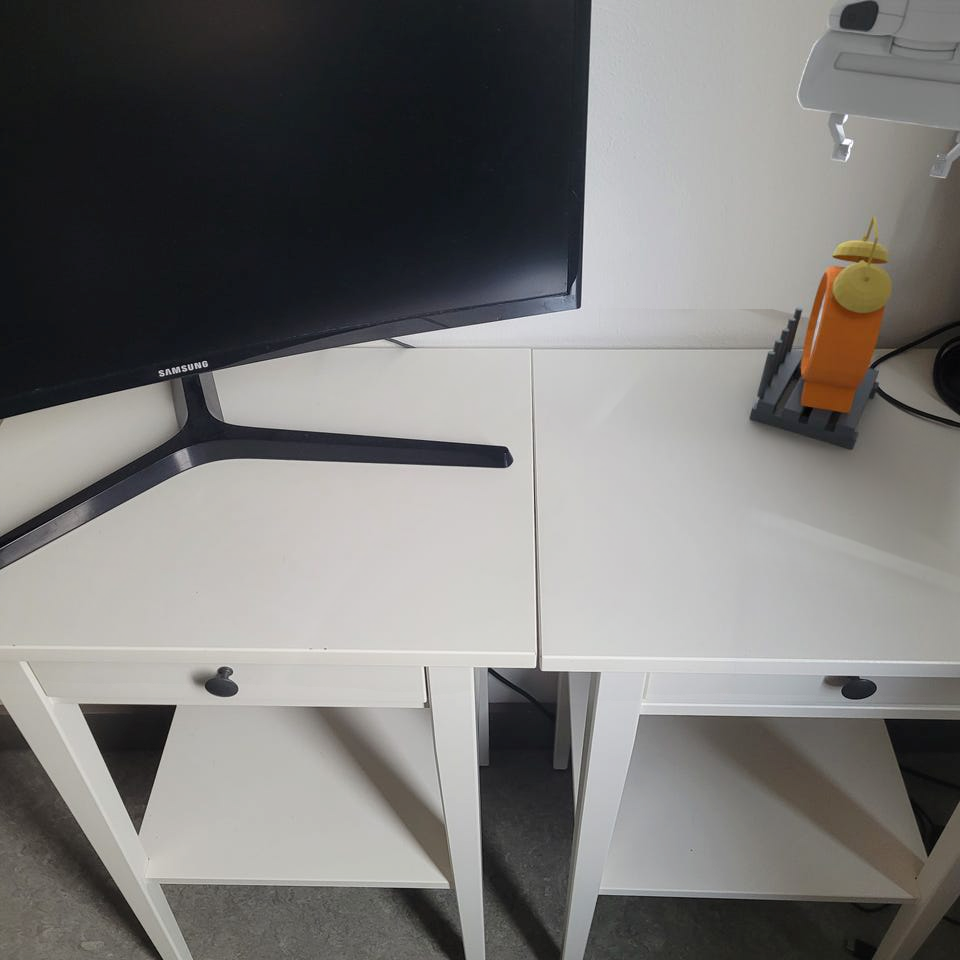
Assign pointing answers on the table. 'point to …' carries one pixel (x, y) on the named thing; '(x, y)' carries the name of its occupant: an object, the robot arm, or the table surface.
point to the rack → (775, 383)
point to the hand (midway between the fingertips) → (887, 167)
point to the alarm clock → (845, 325)
